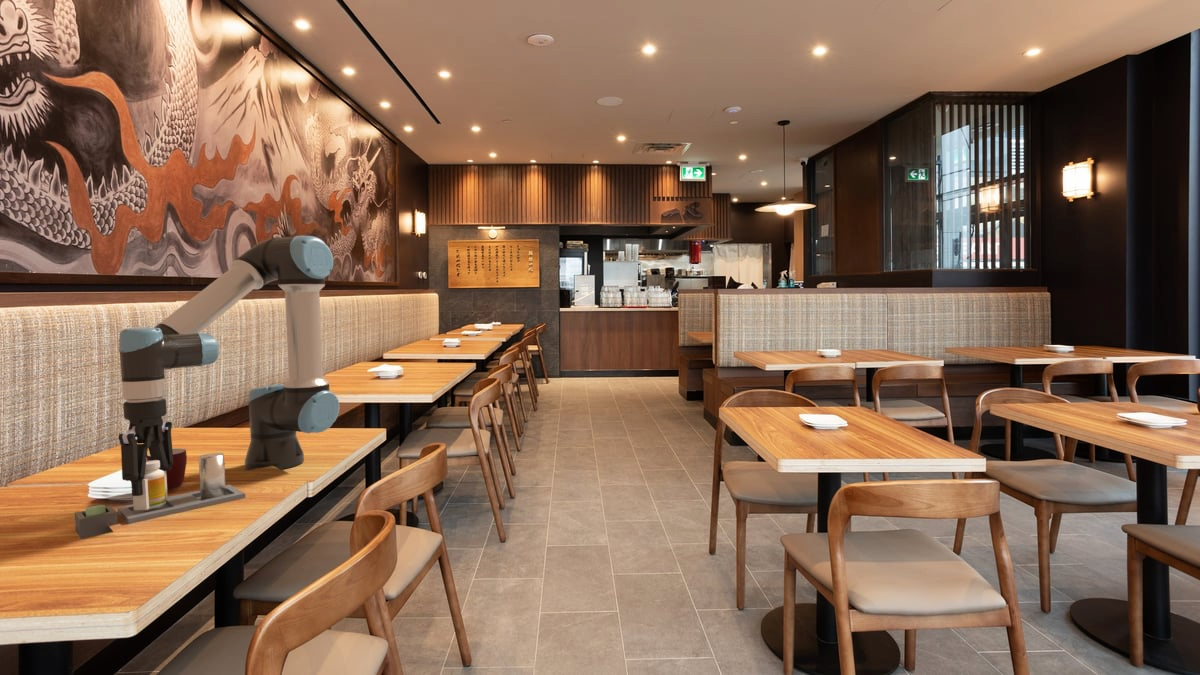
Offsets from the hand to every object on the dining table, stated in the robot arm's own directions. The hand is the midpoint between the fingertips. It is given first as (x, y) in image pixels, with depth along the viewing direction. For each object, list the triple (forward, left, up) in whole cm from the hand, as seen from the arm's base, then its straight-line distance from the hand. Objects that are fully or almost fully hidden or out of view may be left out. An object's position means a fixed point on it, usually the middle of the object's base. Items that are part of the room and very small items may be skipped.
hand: (151, 504), depth 136 cm
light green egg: (+10, +1, -2) cm, 10 cm away
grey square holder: (+10, +1, -3) cm, 10 cm away
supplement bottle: (0, 0, -1) cm, 1 cm away
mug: (-7, -18, -3) cm, 20 cm away
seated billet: (-12, 0, -2) cm, 12 cm away
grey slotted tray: (-6, 0, -3) cm, 7 cm away
